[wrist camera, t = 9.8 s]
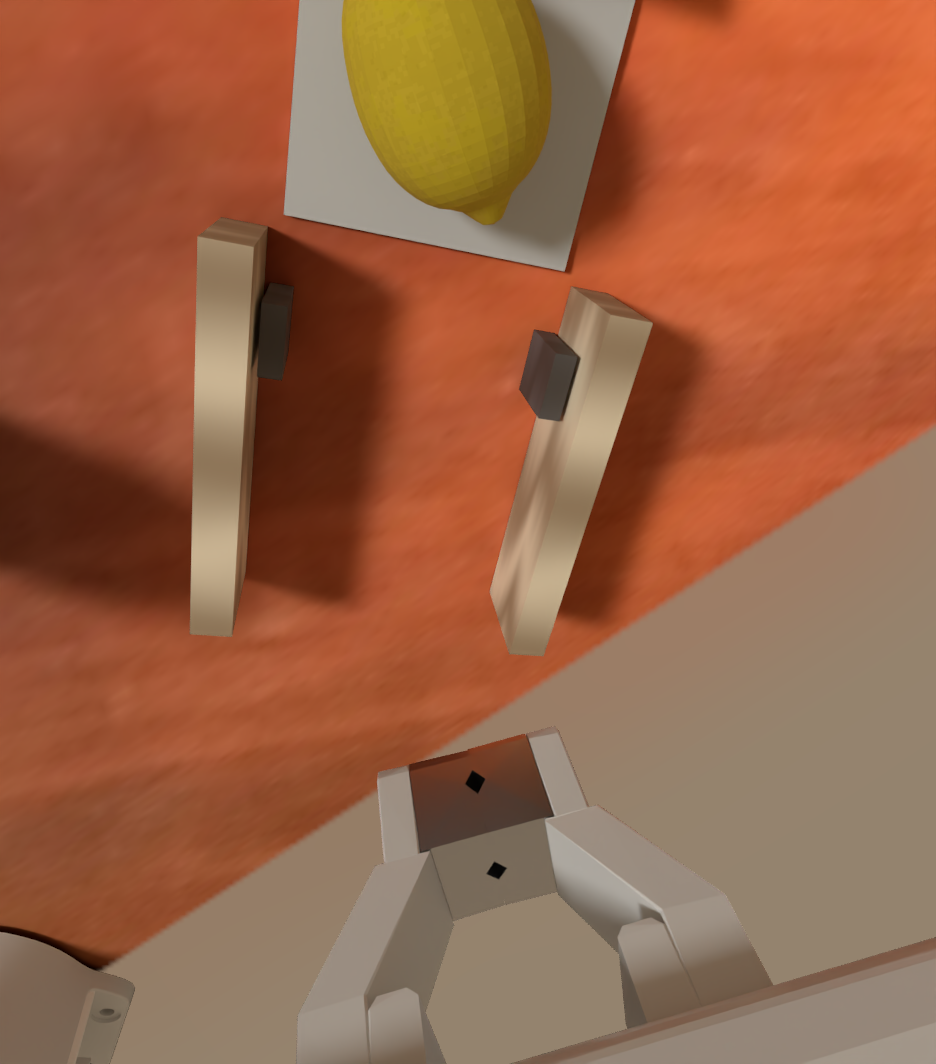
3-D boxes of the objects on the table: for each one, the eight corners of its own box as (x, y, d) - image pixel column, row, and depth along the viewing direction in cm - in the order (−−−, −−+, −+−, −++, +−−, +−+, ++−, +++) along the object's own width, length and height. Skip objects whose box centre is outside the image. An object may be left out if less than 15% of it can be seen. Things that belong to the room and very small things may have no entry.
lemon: (445, 270, 19) (314, -99, 15) (391, 252, 24) (280, -33, 19) (615, 190, 20) (538, -183, 16) (532, 188, 24) (454, -100, 20)
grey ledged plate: (562, 269, 26) (586, 286, 23) (284, 213, 23) (277, 225, 21) (650, -73, 21) (693, -100, 18) (314, -187, 19) (309, -235, 16)
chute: (519, 594, 33) (543, 656, 29) (209, 568, 30) (189, 633, 26) (607, 293, 26) (653, 322, 23) (221, 217, 23) (197, 236, 19)
